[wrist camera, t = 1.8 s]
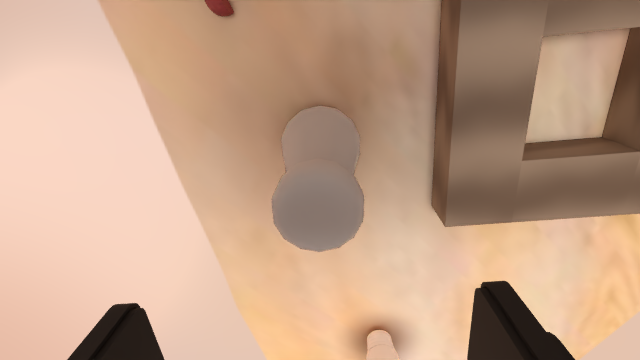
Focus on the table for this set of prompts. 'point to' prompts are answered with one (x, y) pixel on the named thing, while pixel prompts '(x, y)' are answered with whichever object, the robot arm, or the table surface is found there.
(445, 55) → the walnut stand
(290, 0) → the table surface
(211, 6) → the pliers
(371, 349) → the lightbulb
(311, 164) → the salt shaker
